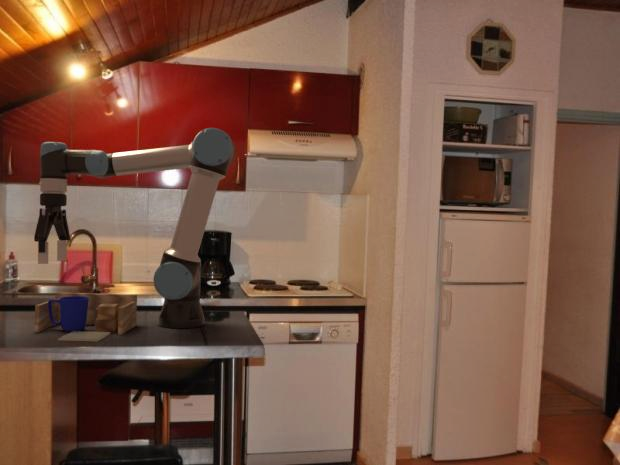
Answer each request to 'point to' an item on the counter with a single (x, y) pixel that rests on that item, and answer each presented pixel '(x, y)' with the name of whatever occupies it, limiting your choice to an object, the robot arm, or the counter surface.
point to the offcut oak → (107, 311)
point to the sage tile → (84, 336)
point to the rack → (91, 310)
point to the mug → (71, 312)
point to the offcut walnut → (106, 325)
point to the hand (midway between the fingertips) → (52, 262)
